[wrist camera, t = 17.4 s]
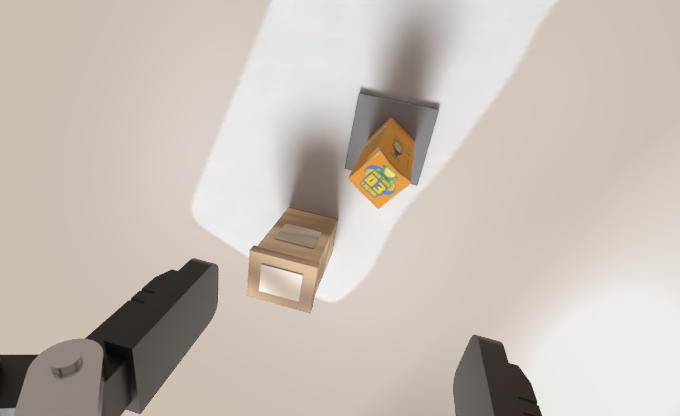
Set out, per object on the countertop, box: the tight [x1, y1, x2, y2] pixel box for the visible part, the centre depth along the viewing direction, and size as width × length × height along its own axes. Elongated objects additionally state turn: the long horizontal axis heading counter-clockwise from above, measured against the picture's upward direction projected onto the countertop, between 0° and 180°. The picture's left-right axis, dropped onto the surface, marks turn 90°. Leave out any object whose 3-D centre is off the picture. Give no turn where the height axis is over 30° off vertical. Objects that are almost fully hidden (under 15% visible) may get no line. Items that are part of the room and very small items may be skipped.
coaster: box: [345, 93, 439, 185], centre depth 32 cm, size 7×7×1 cm
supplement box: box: [349, 117, 415, 209], centre depth 28 cm, size 3×3×10 cm
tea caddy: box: [247, 208, 338, 313], centre depth 34 cm, size 5×6×9 cm
